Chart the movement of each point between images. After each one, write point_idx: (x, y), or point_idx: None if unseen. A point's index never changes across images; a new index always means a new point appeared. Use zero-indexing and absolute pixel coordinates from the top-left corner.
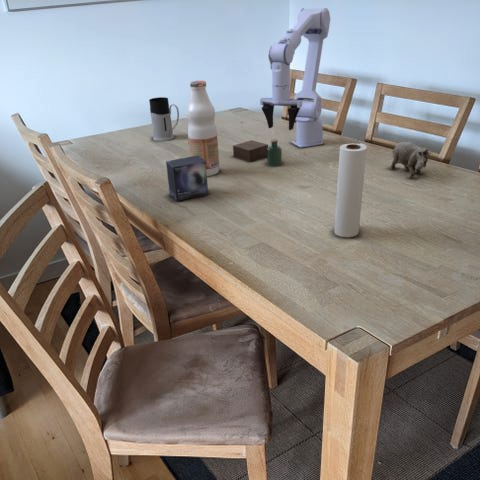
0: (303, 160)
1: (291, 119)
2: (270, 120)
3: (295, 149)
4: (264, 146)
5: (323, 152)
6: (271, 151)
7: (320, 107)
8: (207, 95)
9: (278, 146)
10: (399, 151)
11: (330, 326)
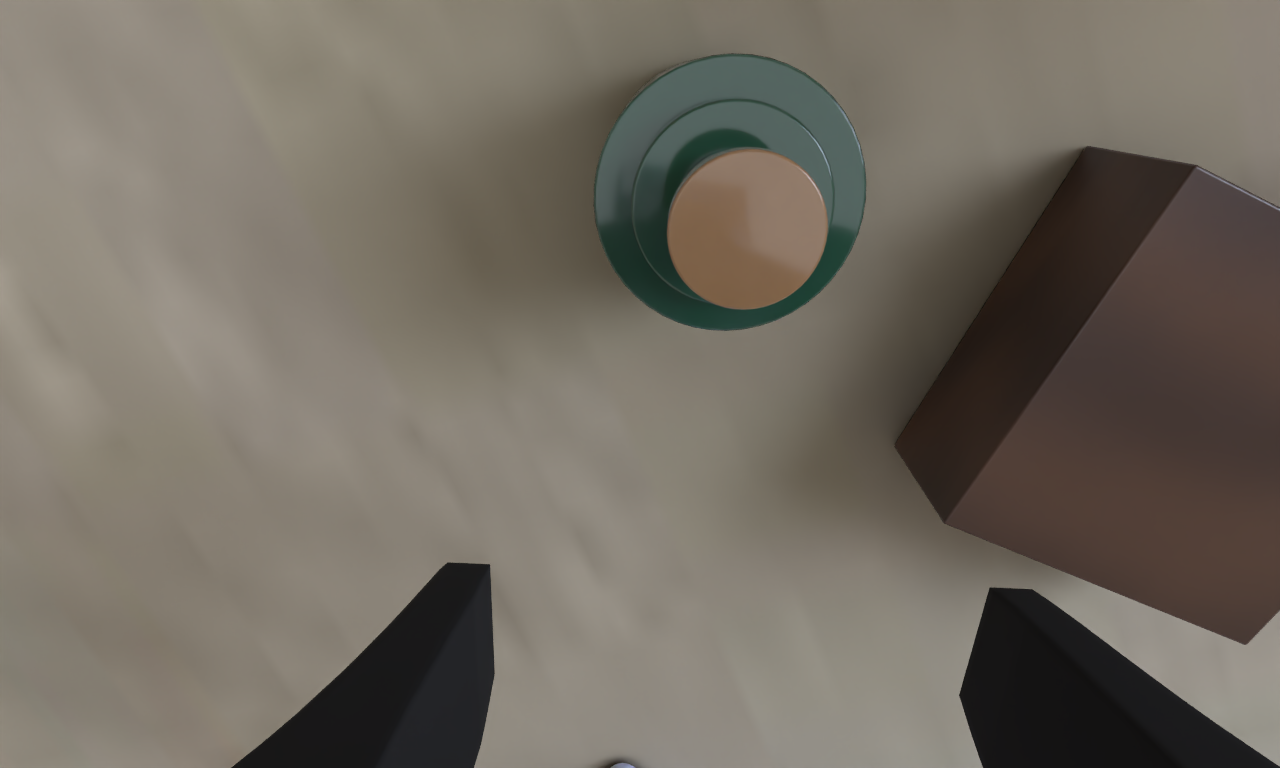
0: (411, 405)
1: (286, 737)
2: (1081, 762)
3: (662, 712)
4: (984, 455)
5: None
6: (737, 55)
7: None
8: None
9: (663, 245)
10: None
11: None
